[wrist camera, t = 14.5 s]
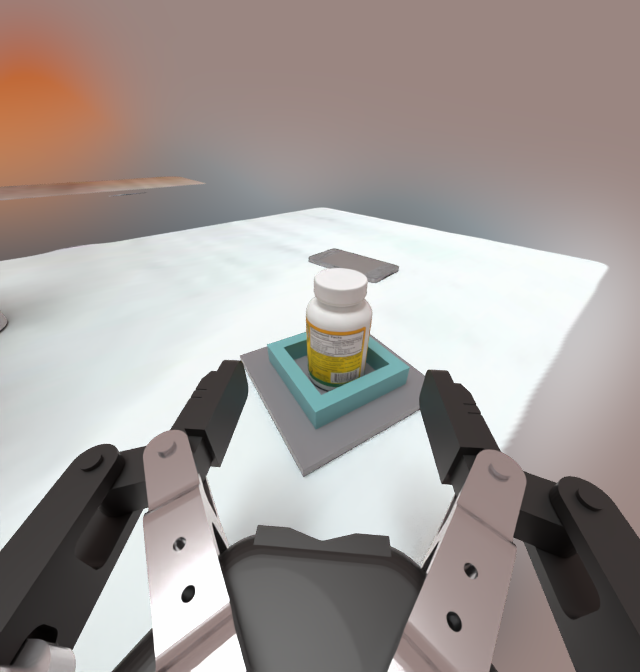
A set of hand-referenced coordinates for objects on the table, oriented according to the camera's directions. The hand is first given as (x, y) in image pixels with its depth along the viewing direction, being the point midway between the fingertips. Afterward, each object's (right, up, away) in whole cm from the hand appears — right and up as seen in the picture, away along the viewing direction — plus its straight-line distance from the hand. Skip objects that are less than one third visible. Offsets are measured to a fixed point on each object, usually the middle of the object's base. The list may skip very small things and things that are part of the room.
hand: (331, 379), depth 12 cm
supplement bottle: (+1, -2, +14) cm, 14 cm away
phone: (+5, +15, +39) cm, 43 cm away
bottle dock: (+1, -2, +14) cm, 14 cm away
